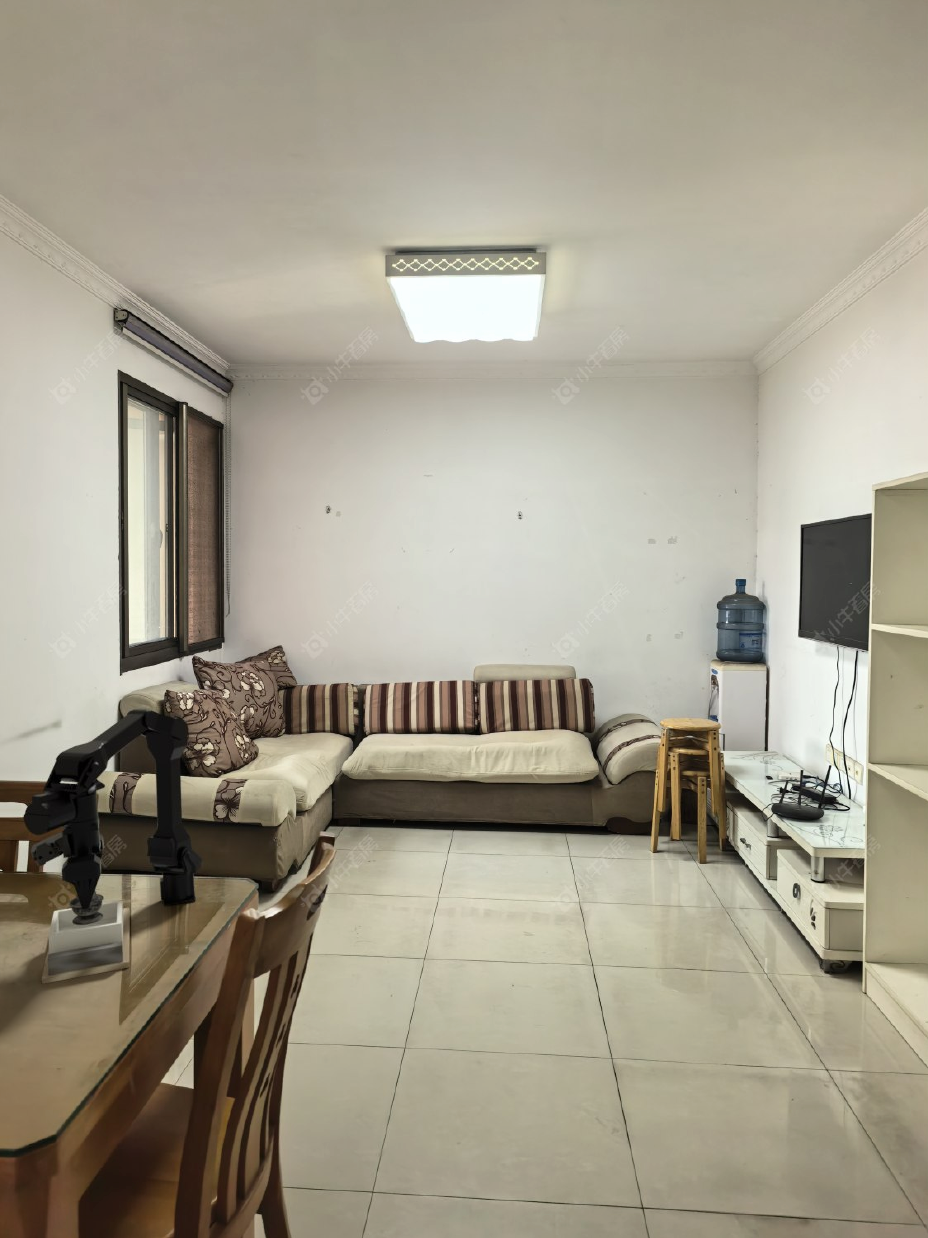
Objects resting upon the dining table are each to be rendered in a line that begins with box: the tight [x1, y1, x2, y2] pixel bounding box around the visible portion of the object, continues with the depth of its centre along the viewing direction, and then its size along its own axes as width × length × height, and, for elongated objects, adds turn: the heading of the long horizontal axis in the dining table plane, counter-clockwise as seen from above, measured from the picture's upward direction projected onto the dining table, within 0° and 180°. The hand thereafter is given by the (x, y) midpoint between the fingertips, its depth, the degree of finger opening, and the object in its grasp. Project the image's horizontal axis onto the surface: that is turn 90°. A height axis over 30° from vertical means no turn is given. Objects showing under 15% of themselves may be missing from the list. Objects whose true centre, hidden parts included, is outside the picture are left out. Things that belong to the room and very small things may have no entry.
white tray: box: [47, 900, 123, 954], centre depth 156 cm, size 12×12×5 cm
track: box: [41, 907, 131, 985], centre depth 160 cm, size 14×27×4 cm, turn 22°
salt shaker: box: [68, 891, 104, 925], centre depth 156 cm, size 6×6×12 cm
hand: (86, 900), depth 156 cm, fingers closed on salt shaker, 8 cm apart
